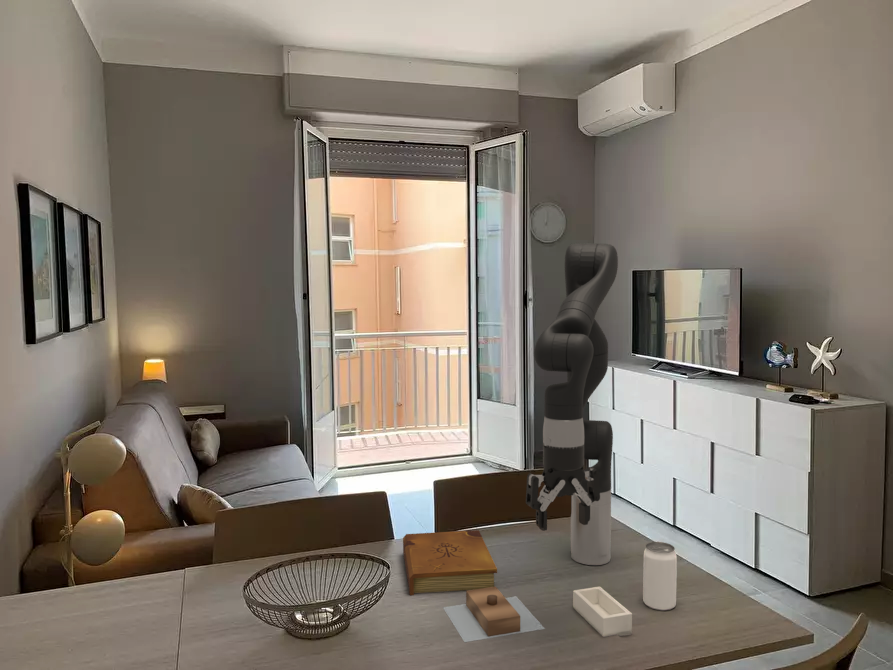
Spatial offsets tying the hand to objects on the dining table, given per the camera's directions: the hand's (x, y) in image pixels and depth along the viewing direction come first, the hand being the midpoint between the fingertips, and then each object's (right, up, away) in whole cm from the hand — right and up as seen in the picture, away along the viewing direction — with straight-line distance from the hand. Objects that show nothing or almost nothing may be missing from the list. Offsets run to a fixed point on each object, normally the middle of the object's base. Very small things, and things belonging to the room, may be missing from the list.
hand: (563, 526), depth 127 cm
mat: (-13, -20, +6) cm, 25 cm away
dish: (+8, -20, +5) cm, 22 cm away
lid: (-13, -20, +6) cm, 24 cm away
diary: (-22, -19, +29) cm, 41 cm away
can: (+22, -20, +12) cm, 32 cm away
